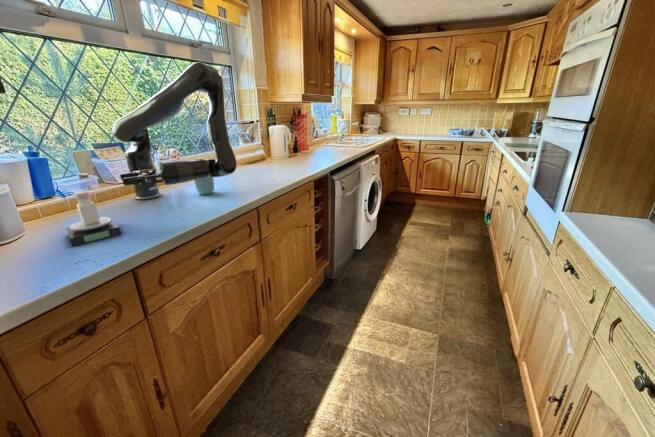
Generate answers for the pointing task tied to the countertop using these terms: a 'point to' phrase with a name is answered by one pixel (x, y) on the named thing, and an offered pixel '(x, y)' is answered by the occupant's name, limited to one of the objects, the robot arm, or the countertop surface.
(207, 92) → the robot arm
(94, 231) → the scale
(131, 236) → the countertop surface
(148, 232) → the countertop surface
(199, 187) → the cup
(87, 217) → the salt shaker
